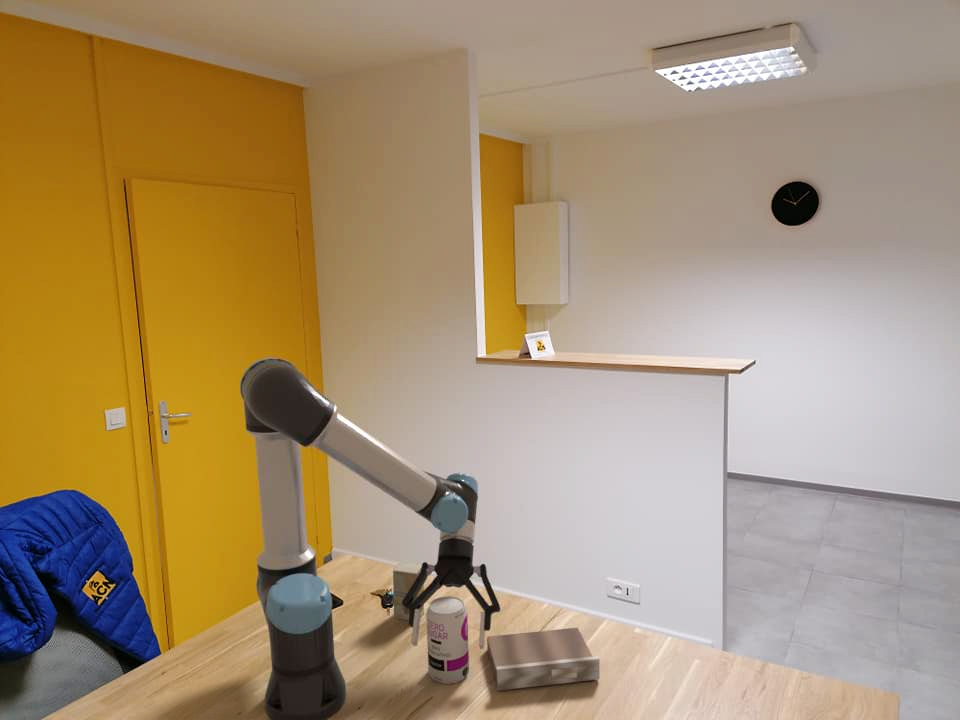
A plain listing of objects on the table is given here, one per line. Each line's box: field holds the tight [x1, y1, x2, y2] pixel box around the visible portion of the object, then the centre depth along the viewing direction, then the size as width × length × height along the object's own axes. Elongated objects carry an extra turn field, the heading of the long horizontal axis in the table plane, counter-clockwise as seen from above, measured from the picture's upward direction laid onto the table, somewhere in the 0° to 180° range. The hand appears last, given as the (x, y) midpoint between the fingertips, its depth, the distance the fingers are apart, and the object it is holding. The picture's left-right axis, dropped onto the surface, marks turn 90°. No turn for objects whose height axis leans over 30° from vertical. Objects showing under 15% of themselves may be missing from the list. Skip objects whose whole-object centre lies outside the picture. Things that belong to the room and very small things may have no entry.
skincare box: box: [392, 562, 425, 621], centre depth 164 cm, size 6×4×12 cm
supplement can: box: [425, 595, 470, 685], centre depth 141 cm, size 8×8×15 cm
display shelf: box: [486, 627, 600, 691], centre depth 144 cm, size 20×15×5 cm
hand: (447, 645), depth 139 cm, fingers open, 13 cm apart
